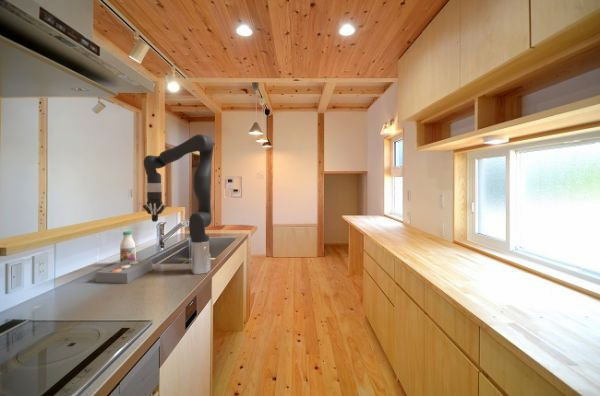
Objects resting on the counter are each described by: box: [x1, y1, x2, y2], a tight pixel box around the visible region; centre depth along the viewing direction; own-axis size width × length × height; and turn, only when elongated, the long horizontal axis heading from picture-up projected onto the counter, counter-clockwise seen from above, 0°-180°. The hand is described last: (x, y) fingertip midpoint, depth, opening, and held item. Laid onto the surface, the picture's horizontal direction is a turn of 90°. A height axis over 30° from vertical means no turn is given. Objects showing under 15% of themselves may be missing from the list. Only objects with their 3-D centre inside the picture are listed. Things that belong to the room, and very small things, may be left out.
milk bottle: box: [119, 230, 137, 262], centre depth 160 cm, size 8×8×20 cm
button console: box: [94, 259, 154, 284], centre depth 142 cm, size 16×21×5 cm
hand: (154, 221), depth 154 cm, fingers closed
